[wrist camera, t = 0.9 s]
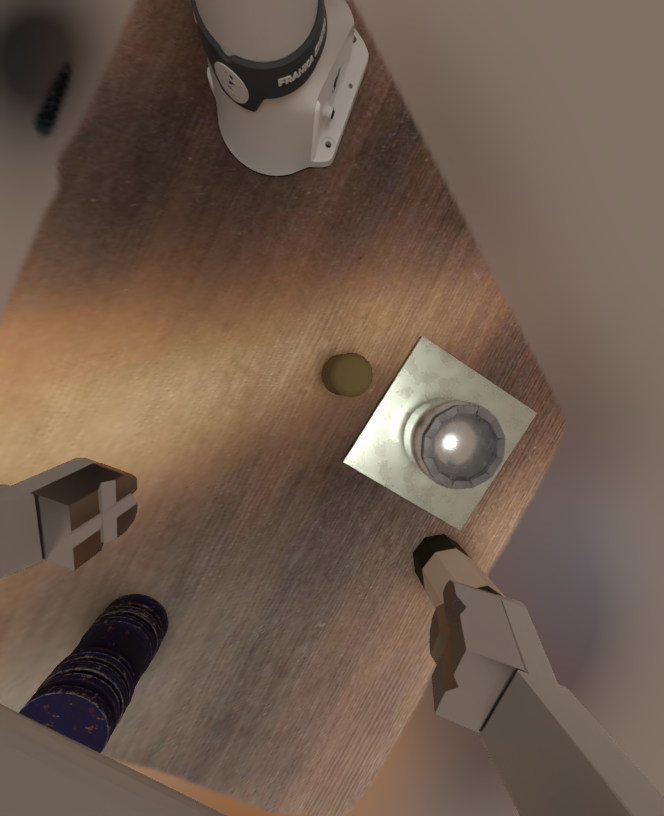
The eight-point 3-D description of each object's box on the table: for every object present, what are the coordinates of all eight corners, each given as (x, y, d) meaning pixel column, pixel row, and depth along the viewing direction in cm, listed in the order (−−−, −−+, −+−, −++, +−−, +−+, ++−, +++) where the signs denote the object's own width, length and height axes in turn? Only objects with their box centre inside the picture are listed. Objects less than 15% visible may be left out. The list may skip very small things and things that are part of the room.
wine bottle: (406, 576, 51) (543, 856, 22) (419, 529, 51) (581, 750, 21) (453, 585, 52) (648, 866, 22) (467, 539, 52) (687, 764, 22)
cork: (354, 348, 47) (369, 340, 36) (367, 386, 47) (385, 390, 37) (315, 362, 46) (319, 358, 35) (329, 400, 47) (337, 408, 36)
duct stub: (420, 336, 47) (443, 329, 39) (532, 412, 50) (575, 419, 42) (342, 460, 48) (349, 477, 40) (456, 527, 51) (484, 555, 43)
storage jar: (105, 589, 47) (14, 687, 33) (172, 596, 48) (114, 694, 34) (98, 649, 48) (7, 771, 34) (164, 655, 49) (104, 775, 35)
